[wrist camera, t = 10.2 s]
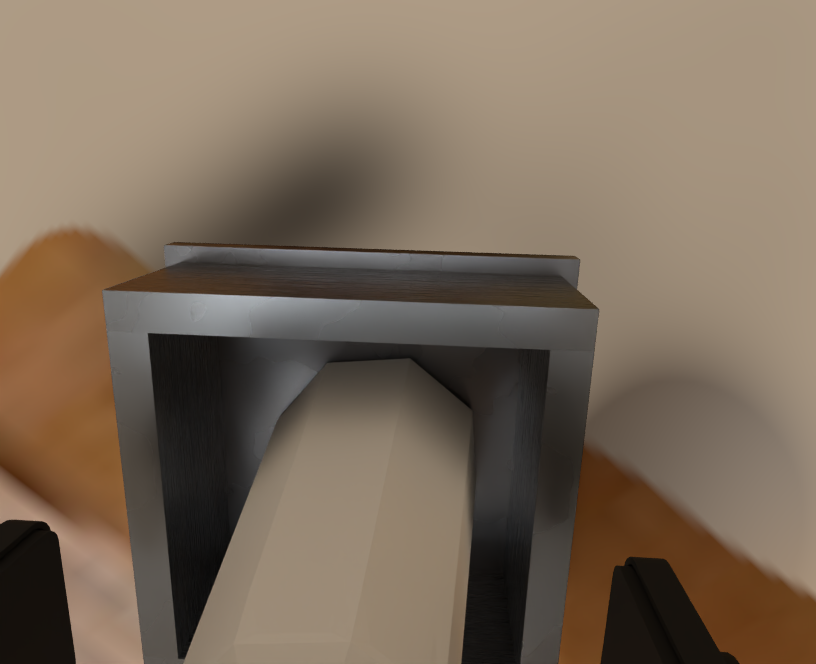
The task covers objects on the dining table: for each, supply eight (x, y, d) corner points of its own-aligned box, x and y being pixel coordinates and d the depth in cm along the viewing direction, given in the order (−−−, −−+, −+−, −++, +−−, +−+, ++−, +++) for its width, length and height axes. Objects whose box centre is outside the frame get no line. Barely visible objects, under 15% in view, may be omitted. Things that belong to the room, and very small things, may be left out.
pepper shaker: (512, 390, 15) (689, 937, 4) (442, 564, 16) (442, 1296, 6) (306, 321, 15) (-42, 716, 4) (254, 503, 16) (-106, 1144, 6)
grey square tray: (574, 256, 14) (624, 288, 11) (539, 599, 17) (568, 728, 13) (174, 242, 15) (78, 268, 11) (200, 579, 18) (131, 698, 14)
